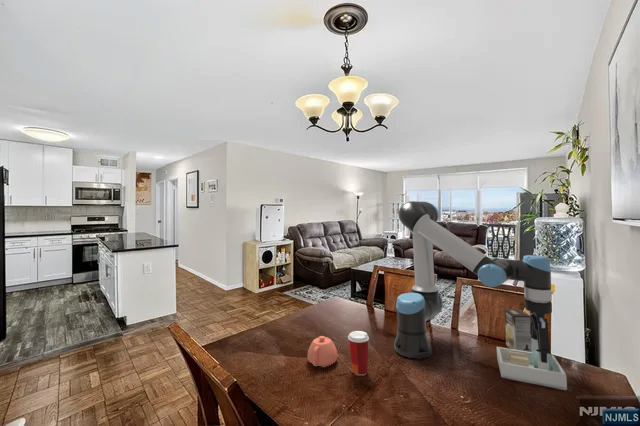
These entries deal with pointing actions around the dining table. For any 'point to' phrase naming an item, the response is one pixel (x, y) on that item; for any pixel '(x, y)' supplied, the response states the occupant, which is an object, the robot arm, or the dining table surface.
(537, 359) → the teal cylinder
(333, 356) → the sugar bowl
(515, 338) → the coffee box
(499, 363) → the tray
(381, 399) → the dining table surface
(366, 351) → the paper cup
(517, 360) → the beech cube
